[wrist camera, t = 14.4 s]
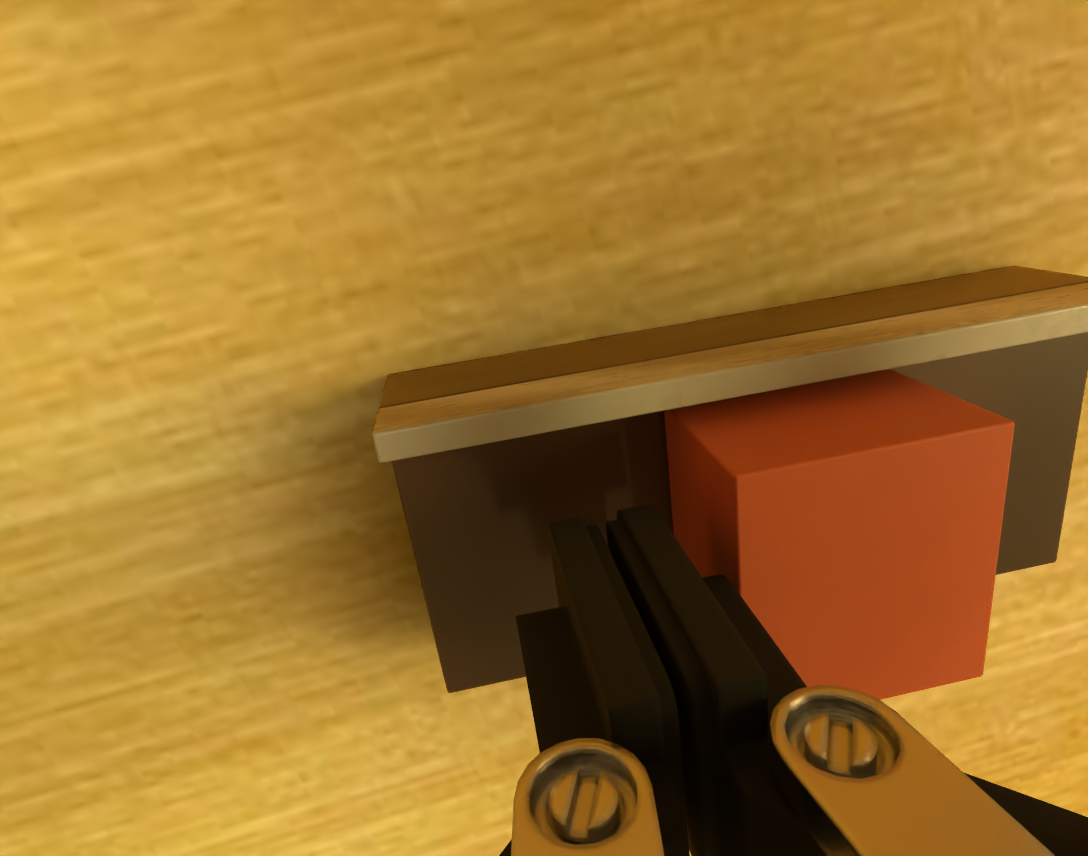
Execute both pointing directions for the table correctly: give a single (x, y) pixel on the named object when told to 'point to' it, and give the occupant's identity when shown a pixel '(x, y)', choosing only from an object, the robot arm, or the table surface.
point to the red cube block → (850, 523)
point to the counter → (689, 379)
